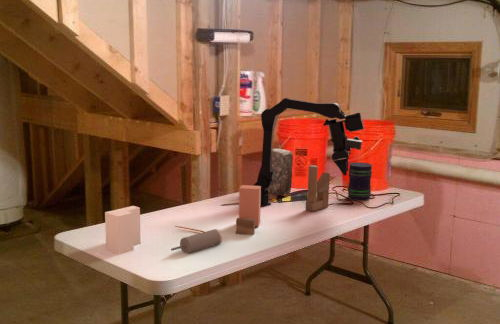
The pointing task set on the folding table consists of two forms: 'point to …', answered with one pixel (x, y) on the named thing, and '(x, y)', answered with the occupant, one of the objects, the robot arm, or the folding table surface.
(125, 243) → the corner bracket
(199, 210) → the folding table surface
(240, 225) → the rail
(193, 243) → the motor
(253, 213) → the block
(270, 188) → the stone block
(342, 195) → the folding table surface
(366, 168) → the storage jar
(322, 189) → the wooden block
